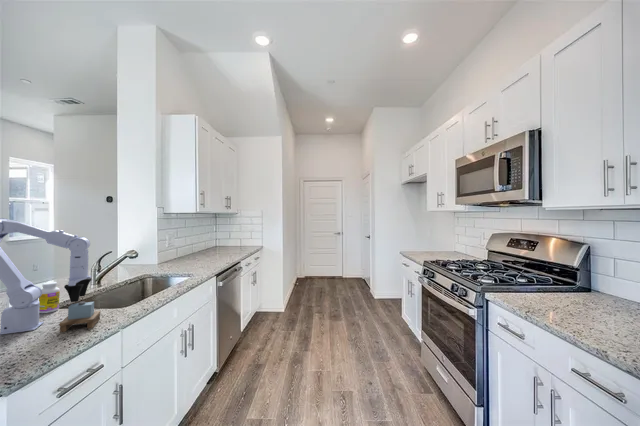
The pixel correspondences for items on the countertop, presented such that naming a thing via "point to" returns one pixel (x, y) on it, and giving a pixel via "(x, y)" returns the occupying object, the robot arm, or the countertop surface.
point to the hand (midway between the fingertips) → (78, 298)
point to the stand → (80, 321)
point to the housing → (80, 310)
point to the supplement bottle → (49, 298)
